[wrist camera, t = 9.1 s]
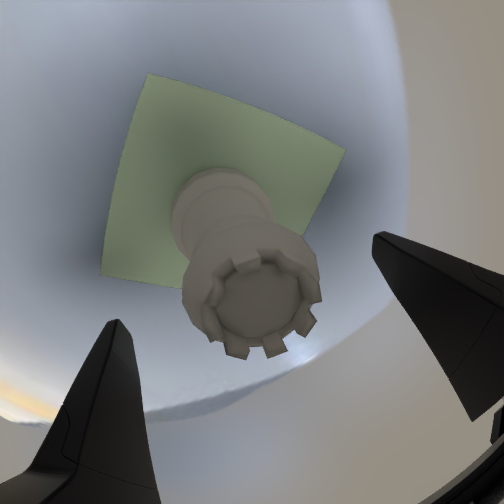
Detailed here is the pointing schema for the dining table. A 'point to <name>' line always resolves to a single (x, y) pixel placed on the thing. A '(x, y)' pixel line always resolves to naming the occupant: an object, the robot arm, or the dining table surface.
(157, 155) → the sage block
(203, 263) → the rook chess piece
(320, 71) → the dining table surface
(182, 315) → the dining table surface
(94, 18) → the dining table surface
